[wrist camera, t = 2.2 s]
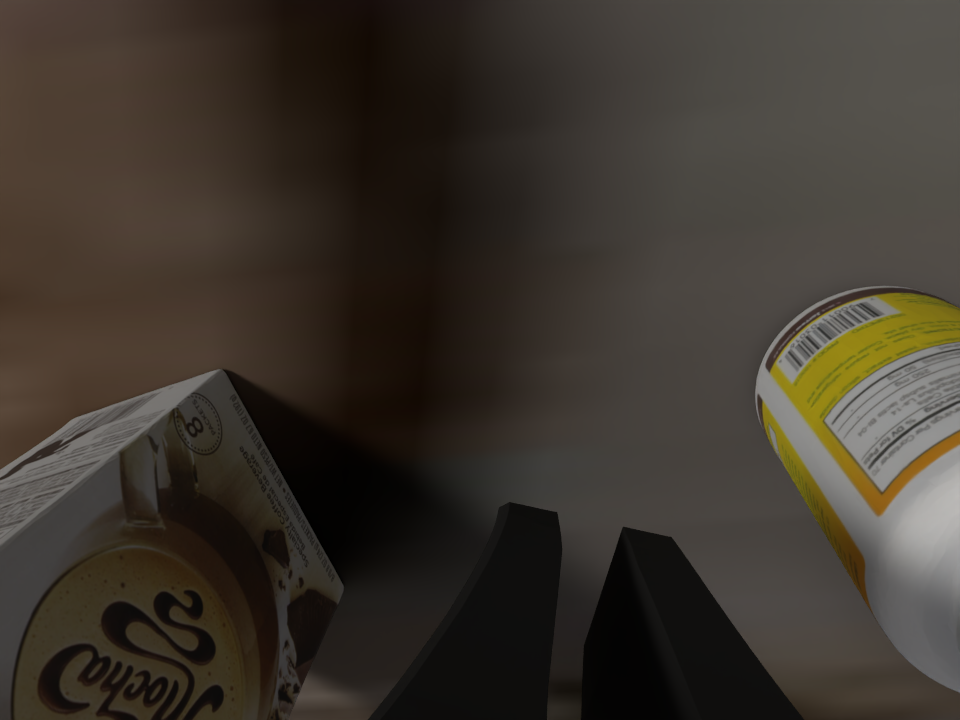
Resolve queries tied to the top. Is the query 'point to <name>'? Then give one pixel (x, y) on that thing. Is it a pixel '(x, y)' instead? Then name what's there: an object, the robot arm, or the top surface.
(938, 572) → the supplement bottle
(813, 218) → the top surface
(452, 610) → the robot arm
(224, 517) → the coffee box
